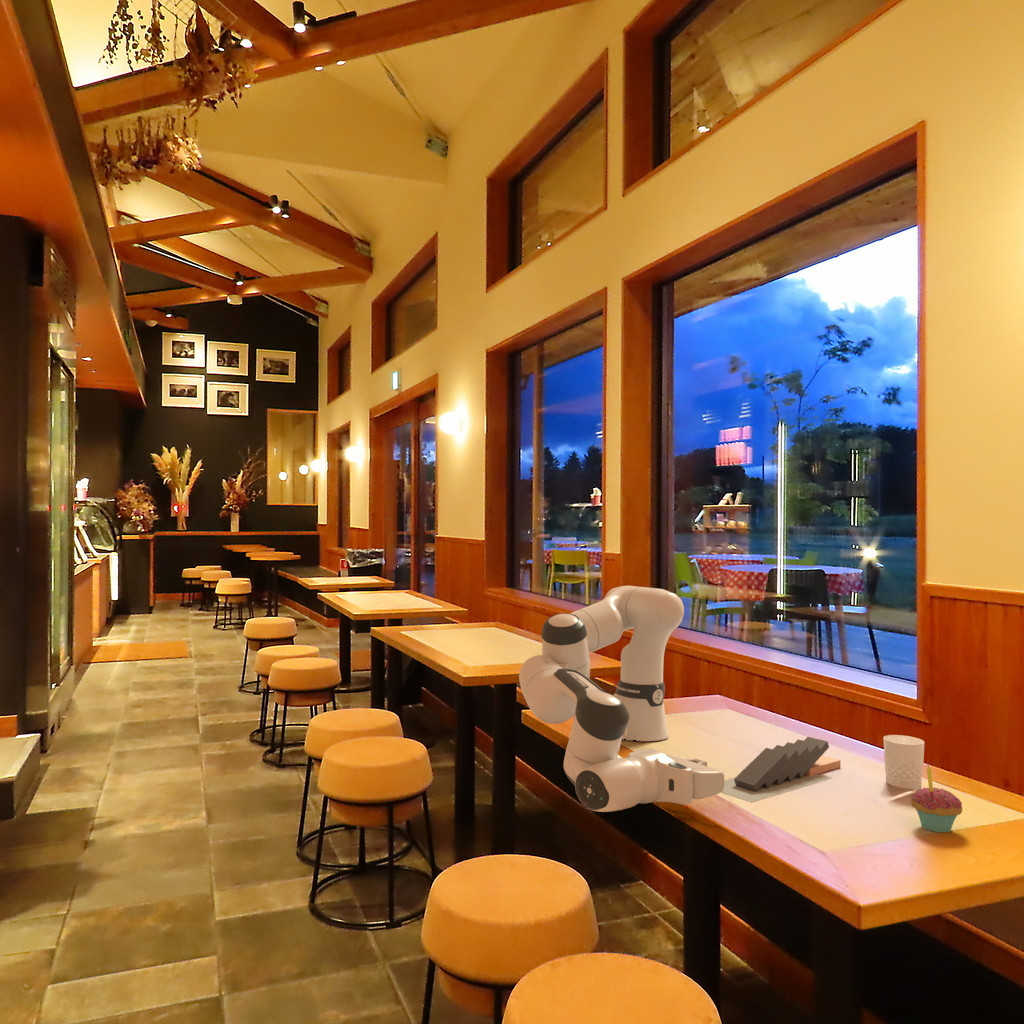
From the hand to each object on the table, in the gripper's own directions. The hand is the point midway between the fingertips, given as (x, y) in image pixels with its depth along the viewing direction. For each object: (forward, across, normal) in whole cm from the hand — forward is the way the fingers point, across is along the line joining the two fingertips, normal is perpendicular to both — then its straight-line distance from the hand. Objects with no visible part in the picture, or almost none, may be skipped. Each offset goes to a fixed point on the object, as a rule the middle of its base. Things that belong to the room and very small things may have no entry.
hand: (701, 764), depth 161 cm
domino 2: (+17, 0, -6) cm, 19 cm away
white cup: (+45, +17, -8) cm, 49 cm away
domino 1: (+14, 0, -6) cm, 15 cm away
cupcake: (+26, +33, -8) cm, 43 cm away
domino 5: (+29, 0, -6) cm, 30 cm away
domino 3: (+21, 0, -6) cm, 22 cm away
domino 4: (+25, 0, -6) cm, 26 cm away
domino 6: (+33, 0, -6) cm, 33 cm away
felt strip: (+22, 0, -8) cm, 23 cm away
